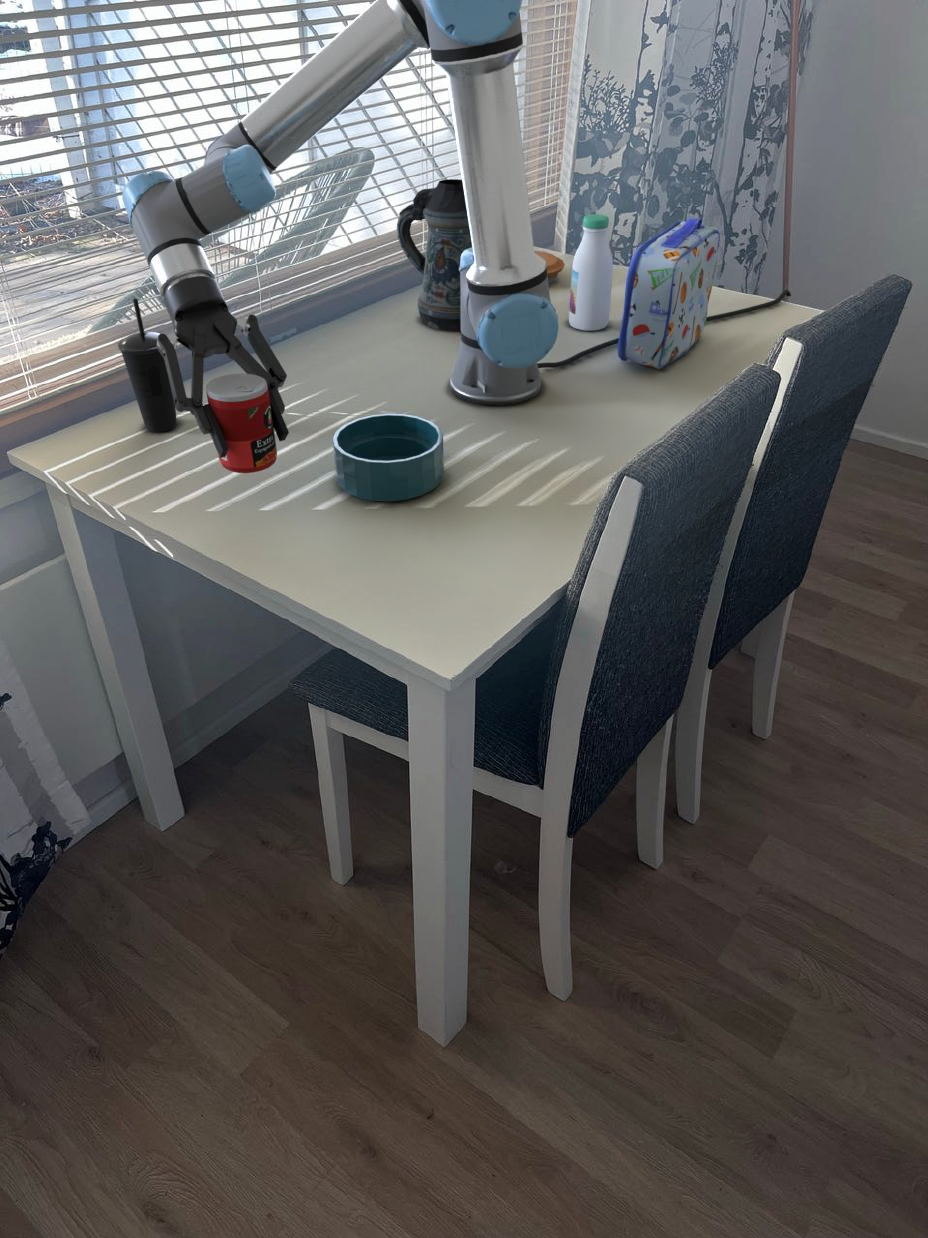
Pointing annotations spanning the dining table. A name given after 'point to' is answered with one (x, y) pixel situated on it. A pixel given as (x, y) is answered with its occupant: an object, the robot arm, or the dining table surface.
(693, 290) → the lunch box
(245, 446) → the canned food
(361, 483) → the teal pet bowl
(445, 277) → the beer stein
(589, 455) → the dining table surface
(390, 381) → the dining table surface
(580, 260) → the milk bottle
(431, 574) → the dining table surface
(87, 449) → the dining table surface
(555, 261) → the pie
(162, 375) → the drinking cup
